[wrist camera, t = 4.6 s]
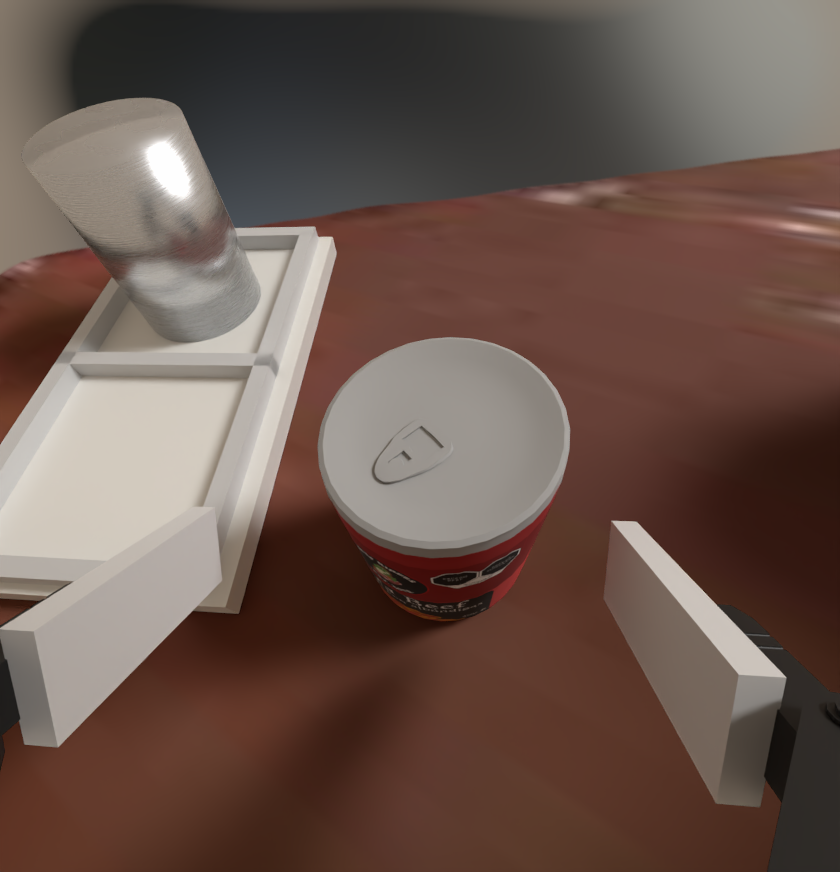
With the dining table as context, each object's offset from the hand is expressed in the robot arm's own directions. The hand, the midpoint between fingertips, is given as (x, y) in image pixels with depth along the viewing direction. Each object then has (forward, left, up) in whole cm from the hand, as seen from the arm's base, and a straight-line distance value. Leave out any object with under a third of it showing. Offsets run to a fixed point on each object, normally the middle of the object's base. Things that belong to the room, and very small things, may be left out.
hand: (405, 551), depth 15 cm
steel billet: (+17, -19, -6) cm, 27 cm away
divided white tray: (+17, -13, -8) cm, 23 cm away
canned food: (-1, -3, -8) cm, 9 cm away
